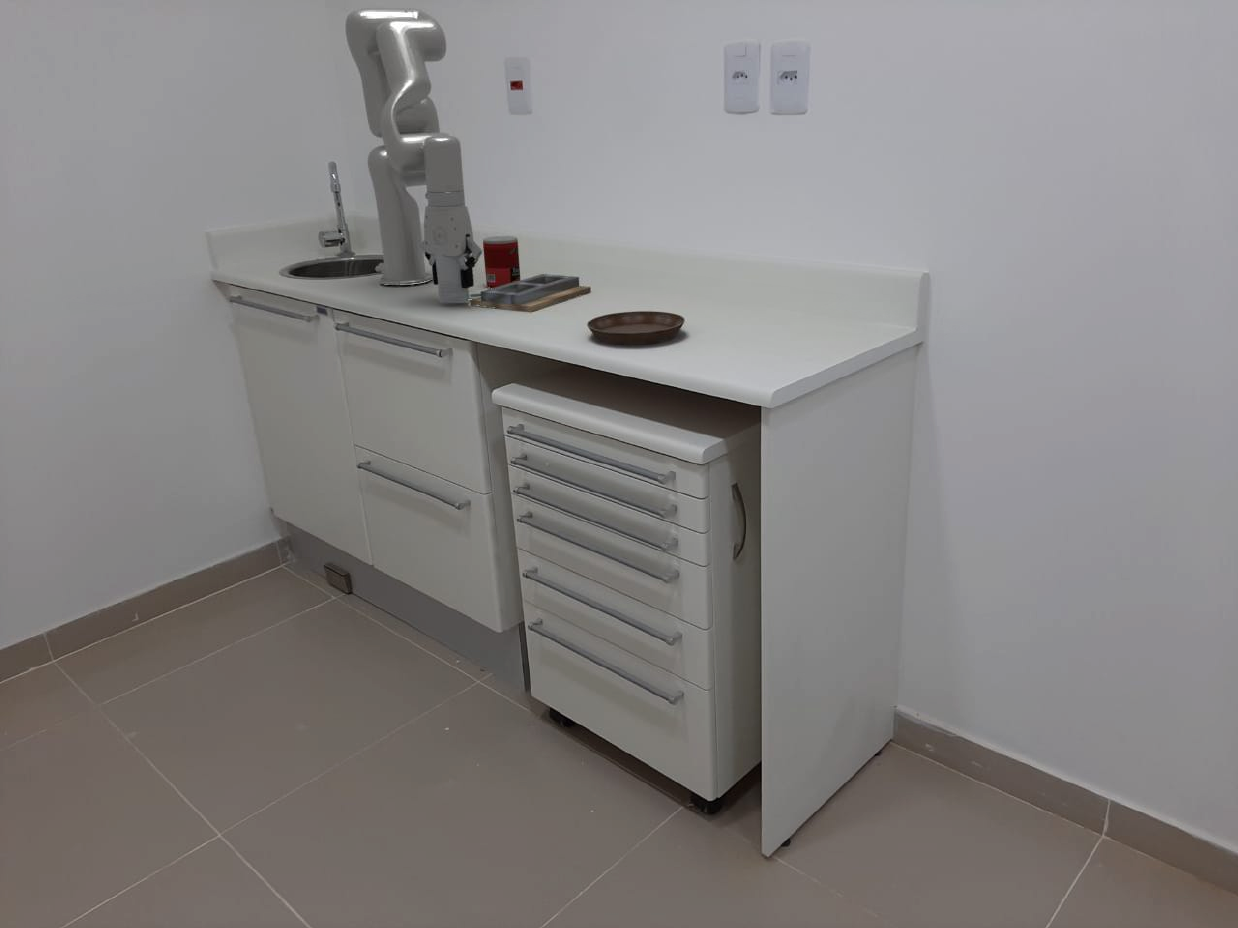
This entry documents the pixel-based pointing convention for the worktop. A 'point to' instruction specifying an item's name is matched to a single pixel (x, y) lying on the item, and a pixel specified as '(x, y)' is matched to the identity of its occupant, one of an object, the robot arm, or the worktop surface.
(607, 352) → the worktop surface
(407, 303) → the worktop surface
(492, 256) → the canned food
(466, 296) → the skincare box
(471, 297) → the card
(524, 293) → the holder
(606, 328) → the plant saucer
